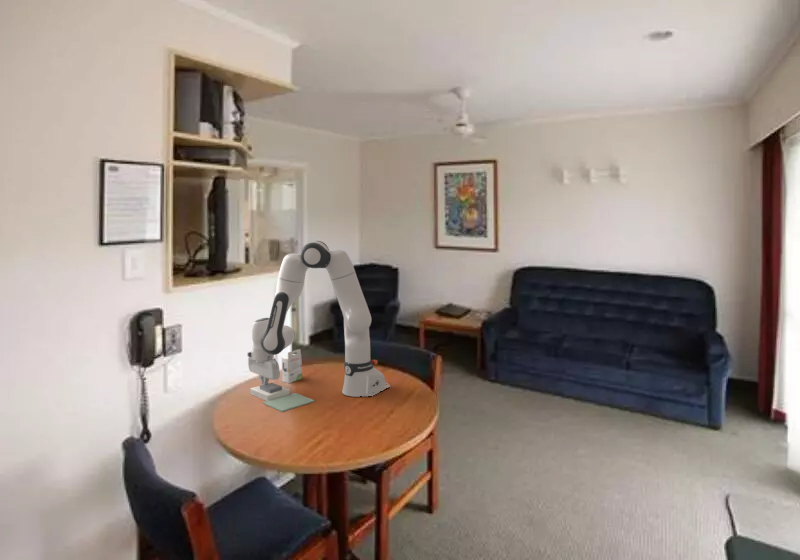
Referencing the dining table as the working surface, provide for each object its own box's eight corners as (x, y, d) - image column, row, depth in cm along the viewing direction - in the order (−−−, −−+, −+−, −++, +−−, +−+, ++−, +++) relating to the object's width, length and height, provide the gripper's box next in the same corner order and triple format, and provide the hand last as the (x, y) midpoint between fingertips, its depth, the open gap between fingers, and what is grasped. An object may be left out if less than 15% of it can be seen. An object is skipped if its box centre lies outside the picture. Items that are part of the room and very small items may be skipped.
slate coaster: (272, 385, 220) (271, 382, 220) (282, 389, 214) (281, 386, 214) (259, 389, 215) (259, 385, 215) (269, 393, 210) (269, 389, 210)
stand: (271, 387, 225) (271, 382, 224) (289, 395, 215) (289, 389, 215) (250, 393, 217) (249, 388, 216) (267, 401, 207) (267, 395, 207)
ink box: (295, 376, 241) (294, 347, 239) (302, 378, 238) (301, 348, 237) (281, 381, 234) (280, 351, 232) (288, 383, 231) (287, 352, 230)
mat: (295, 393, 217) (295, 392, 217) (314, 401, 207) (314, 400, 207) (262, 403, 205) (262, 402, 205) (281, 411, 195) (281, 410, 195)
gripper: (282, 357, 212) (283, 388, 214) (257, 349, 226) (258, 378, 228) (270, 360, 208) (271, 392, 209) (245, 352, 222) (246, 382, 223)
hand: (264, 385), depth 219 cm, fingers closed
